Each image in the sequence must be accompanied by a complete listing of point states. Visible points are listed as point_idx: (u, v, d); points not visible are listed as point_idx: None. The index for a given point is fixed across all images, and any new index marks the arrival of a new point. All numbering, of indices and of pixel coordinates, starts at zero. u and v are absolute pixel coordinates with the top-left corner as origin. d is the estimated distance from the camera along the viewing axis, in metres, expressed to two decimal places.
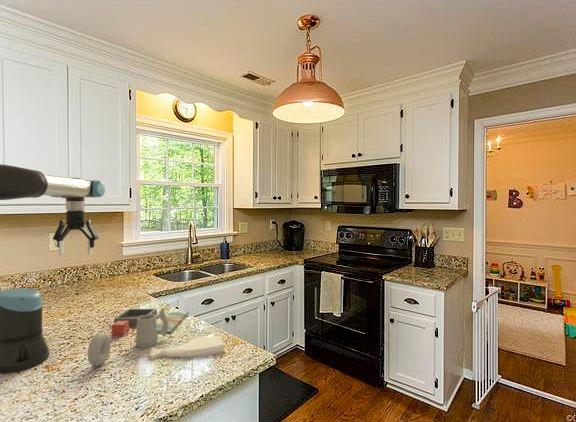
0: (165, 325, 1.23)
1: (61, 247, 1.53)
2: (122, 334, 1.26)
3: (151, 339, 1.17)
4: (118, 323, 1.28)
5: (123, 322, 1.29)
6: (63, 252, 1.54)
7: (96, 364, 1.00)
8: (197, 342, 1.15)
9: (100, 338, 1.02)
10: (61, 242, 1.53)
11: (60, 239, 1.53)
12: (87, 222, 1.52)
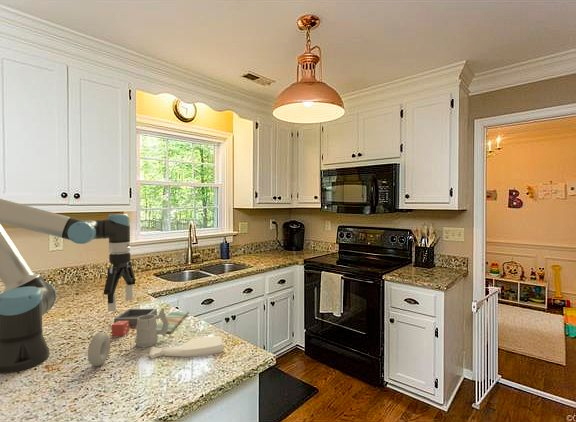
0: (165, 325, 1.23)
1: (127, 292, 1.35)
2: (122, 334, 1.26)
3: (151, 339, 1.17)
4: (118, 323, 1.28)
5: (123, 322, 1.29)
6: (130, 298, 1.35)
7: (96, 364, 1.00)
8: (197, 341, 1.15)
9: (100, 338, 1.02)
10: (127, 286, 1.35)
11: (128, 283, 1.35)
12: None
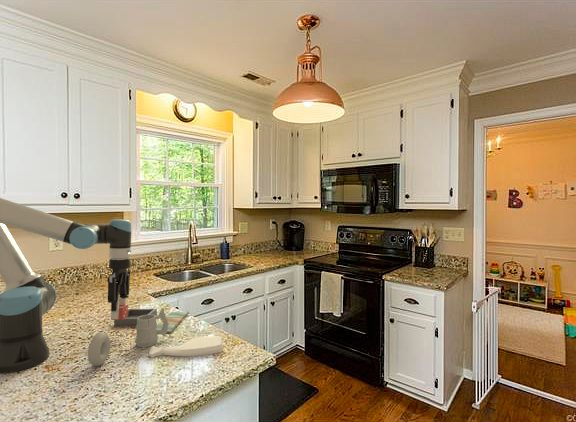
0: (165, 325, 1.23)
1: None
2: (121, 318, 1.26)
3: (151, 339, 1.17)
4: None
5: (122, 306, 1.28)
6: None
7: (96, 364, 1.00)
8: (196, 341, 1.16)
9: (100, 338, 1.02)
10: (119, 300, 1.30)
11: (122, 296, 1.31)
12: None
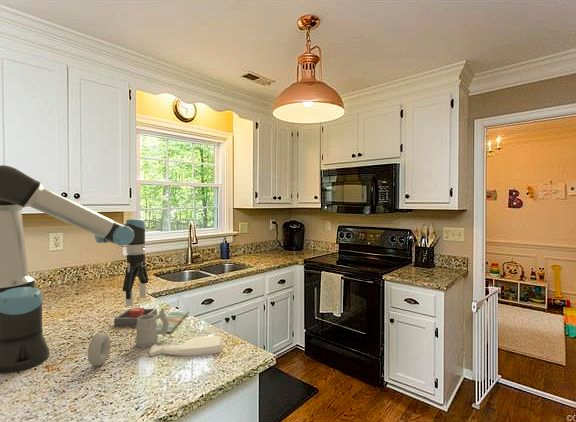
0: (165, 325, 1.23)
1: (140, 290, 1.49)
2: None
3: (151, 339, 1.17)
4: (135, 309, 1.42)
5: (139, 309, 1.43)
6: (143, 295, 1.49)
7: (96, 364, 1.00)
8: (196, 341, 1.16)
9: (100, 338, 1.02)
10: (140, 285, 1.49)
11: (142, 281, 1.50)
12: None
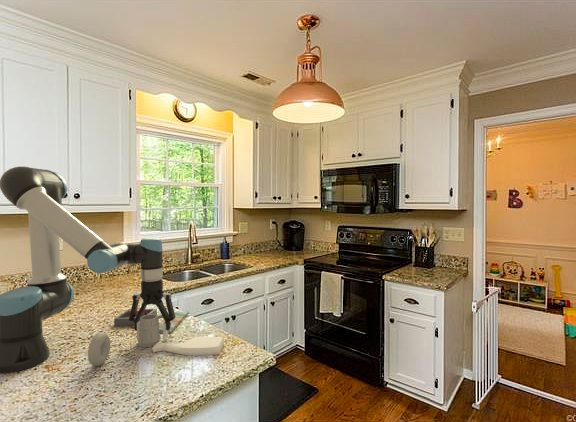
0: None
1: None
2: None
3: (154, 339, 1.17)
4: None
5: (139, 309, 1.43)
6: None
7: (96, 364, 1.00)
8: (198, 340, 1.16)
9: (100, 338, 1.02)
10: (139, 324, 1.20)
11: (138, 320, 1.20)
12: (167, 297, 1.19)
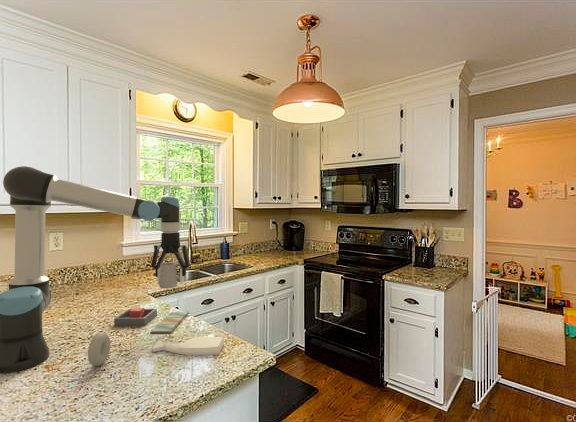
0: None
1: (159, 275, 1.39)
2: None
3: (172, 282, 1.37)
4: (135, 309, 1.42)
5: (139, 309, 1.43)
6: None
7: (96, 364, 1.00)
8: (198, 340, 1.16)
9: (100, 338, 1.02)
10: (159, 270, 1.39)
11: (158, 267, 1.40)
12: (184, 247, 1.39)
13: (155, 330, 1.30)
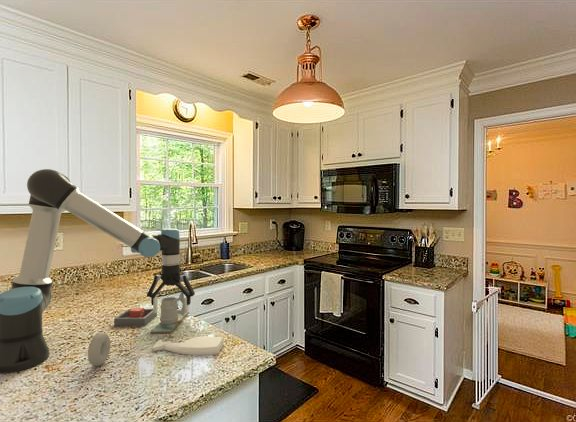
0: (184, 306, 1.43)
1: (155, 304, 1.40)
2: None
3: (174, 317, 1.37)
4: (135, 309, 1.42)
5: (139, 309, 1.43)
6: (156, 309, 1.41)
7: (96, 364, 1.00)
8: (198, 340, 1.17)
9: (100, 338, 1.02)
10: (155, 299, 1.40)
11: None
12: (184, 277, 1.39)
13: (155, 330, 1.30)
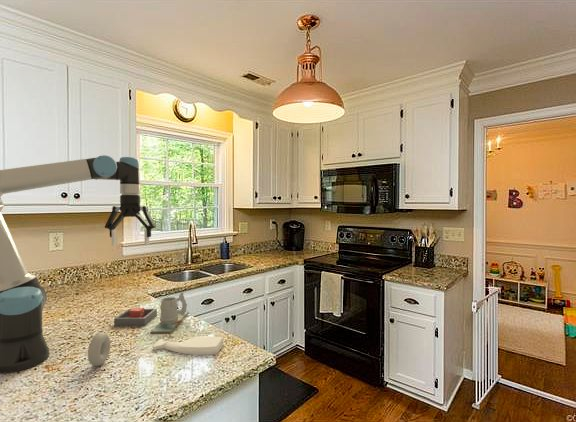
0: (184, 306, 1.43)
1: (114, 237, 1.34)
2: None
3: (174, 317, 1.37)
4: (135, 309, 1.42)
5: (139, 309, 1.43)
6: (116, 242, 1.35)
7: (96, 364, 1.00)
8: (198, 339, 1.17)
9: (100, 338, 1.02)
10: (114, 231, 1.34)
11: (113, 227, 1.34)
12: (144, 208, 1.34)
13: (155, 330, 1.30)
